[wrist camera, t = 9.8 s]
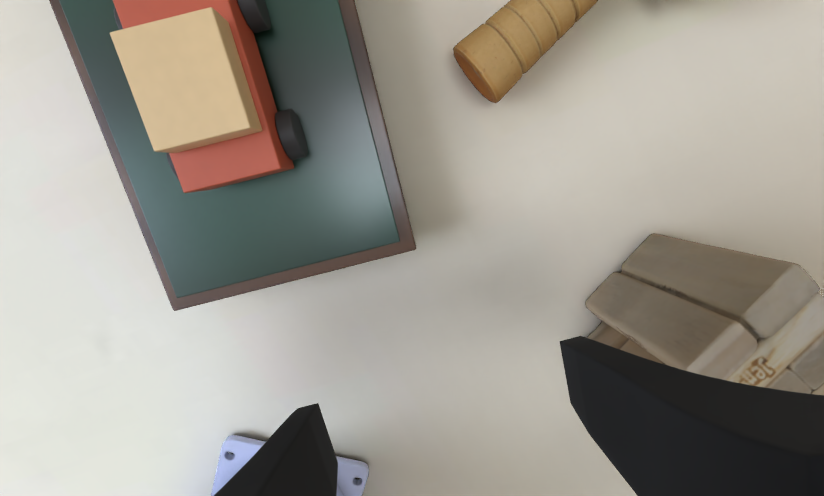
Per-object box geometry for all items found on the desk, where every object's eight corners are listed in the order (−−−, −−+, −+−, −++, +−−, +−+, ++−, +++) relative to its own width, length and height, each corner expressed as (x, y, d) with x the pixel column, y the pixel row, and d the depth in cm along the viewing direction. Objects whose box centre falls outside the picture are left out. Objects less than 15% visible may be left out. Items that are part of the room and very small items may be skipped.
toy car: (313, 164, 16) (290, 164, 12) (202, 192, 16) (144, 200, 12) (257, -25, 14) (211, -93, 11) (135, 5, 14) (45, -52, 11)
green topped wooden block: (413, 239, 20) (417, 251, 17) (200, 293, 20) (167, 314, 17) (321, -126, 16) (307, -189, 14) (65, -62, 16) (-5, -112, 14)
